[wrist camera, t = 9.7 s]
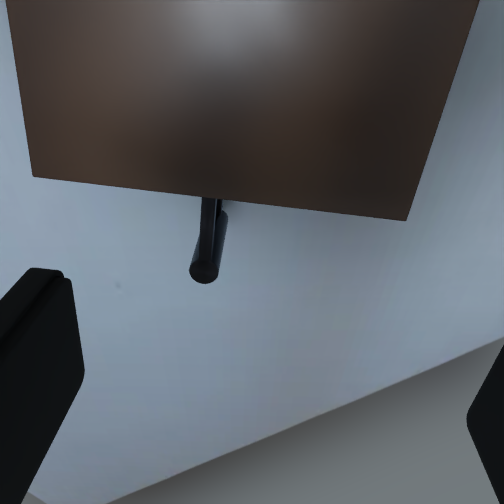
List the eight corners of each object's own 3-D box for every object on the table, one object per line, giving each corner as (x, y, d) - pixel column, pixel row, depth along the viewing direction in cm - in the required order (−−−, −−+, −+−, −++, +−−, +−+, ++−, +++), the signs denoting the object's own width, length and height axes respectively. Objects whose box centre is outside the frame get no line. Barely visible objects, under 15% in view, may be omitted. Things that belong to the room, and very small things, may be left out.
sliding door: (249, 123, 27) (241, 177, 19) (238, 222, 31) (227, 302, 23) (135, 109, 27) (78, 157, 19) (137, 210, 31) (90, 287, 23)
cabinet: (395, -16, 24) (489, -25, 14) (357, 141, 29) (406, 222, 19) (110, -55, 24) (-10, -93, 14) (118, 111, 28) (32, 177, 18)
